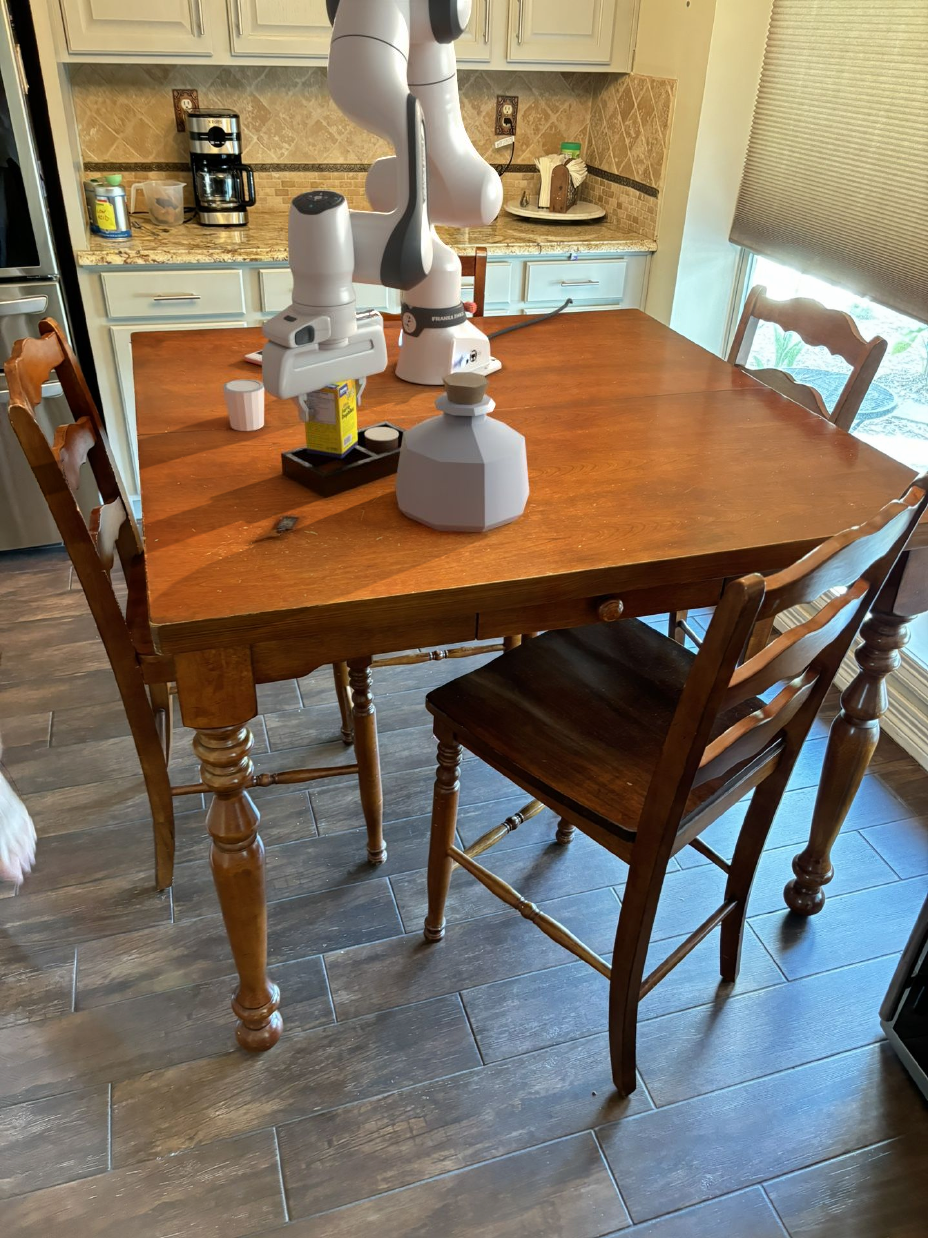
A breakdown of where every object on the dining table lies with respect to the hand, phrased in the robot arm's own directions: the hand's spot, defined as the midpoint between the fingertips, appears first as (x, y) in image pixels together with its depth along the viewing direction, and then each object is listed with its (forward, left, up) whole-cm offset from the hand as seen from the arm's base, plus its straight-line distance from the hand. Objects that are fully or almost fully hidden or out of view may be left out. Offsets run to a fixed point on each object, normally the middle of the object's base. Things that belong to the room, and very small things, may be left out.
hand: (330, 412), depth 136 cm
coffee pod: (-10, 0, -10) cm, 14 cm away
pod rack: (-5, 0, -10) cm, 11 cm away
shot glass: (-1, -26, -10) cm, 28 cm away
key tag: (+17, +9, -10) cm, 22 cm away
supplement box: (0, 0, -6) cm, 6 cm away
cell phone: (-29, -53, -10) cm, 61 cm away
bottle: (-8, +20, -10) cm, 24 cm away
